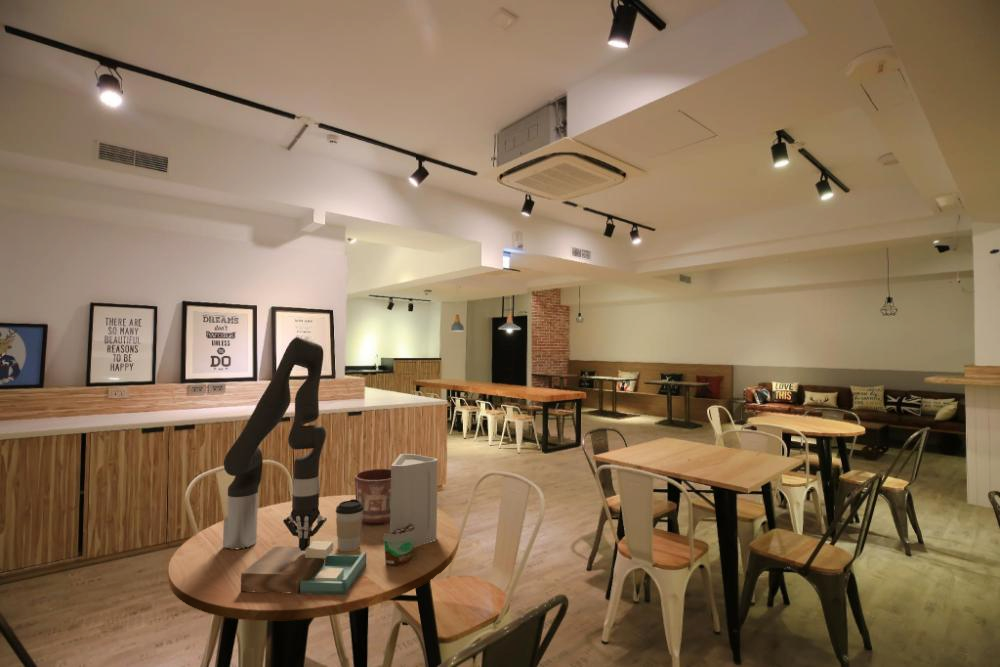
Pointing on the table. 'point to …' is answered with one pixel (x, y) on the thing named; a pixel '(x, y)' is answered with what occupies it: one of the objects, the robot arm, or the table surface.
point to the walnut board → (280, 571)
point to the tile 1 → (319, 549)
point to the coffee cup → (349, 524)
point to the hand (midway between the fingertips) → (304, 549)
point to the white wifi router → (414, 496)
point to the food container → (399, 545)
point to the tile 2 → (330, 574)
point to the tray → (351, 572)
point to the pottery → (374, 495)
